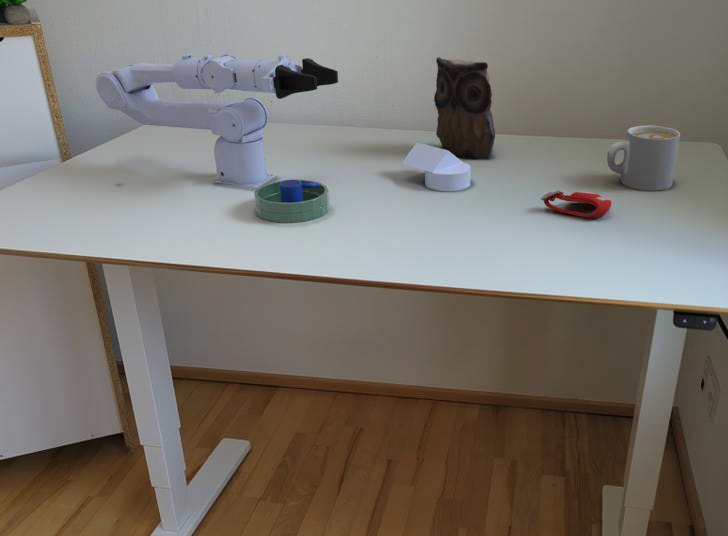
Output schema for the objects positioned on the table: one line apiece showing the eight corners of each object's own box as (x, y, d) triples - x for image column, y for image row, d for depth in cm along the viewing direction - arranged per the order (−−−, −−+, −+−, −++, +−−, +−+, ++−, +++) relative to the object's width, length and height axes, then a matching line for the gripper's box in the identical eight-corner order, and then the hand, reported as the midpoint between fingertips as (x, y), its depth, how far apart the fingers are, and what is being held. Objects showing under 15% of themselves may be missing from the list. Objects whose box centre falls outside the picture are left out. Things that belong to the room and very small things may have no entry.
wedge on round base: (401, 180, 161) (449, 194, 153) (401, 147, 158) (450, 160, 150) (431, 169, 167) (479, 183, 159) (431, 137, 163) (480, 149, 156)
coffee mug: (667, 175, 163) (675, 126, 157) (676, 191, 154) (684, 139, 149) (601, 173, 164) (607, 124, 159) (605, 189, 155) (612, 138, 150)
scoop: (281, 214, 143) (279, 187, 141) (282, 206, 147) (279, 179, 144) (321, 211, 144) (319, 185, 142) (320, 204, 148) (319, 178, 145)
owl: (495, 160, 172) (499, 63, 162) (437, 162, 171) (438, 64, 161) (487, 144, 183) (490, 52, 172) (432, 145, 182) (432, 53, 172)
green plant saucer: (242, 219, 143) (240, 198, 141) (280, 196, 153) (278, 176, 151) (307, 229, 138) (305, 207, 136) (341, 205, 149) (340, 184, 147)
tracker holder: (590, 192, 150) (625, 195, 142) (587, 216, 151) (621, 220, 143) (537, 186, 145) (570, 189, 136) (534, 211, 146) (566, 215, 137)
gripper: (237, 58, 140) (304, 61, 135) (281, 48, 152) (344, 51, 147) (242, 99, 143) (307, 104, 139) (285, 87, 155) (346, 91, 150)
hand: (326, 80), depth 143 cm, fingers open, 7 cm apart
